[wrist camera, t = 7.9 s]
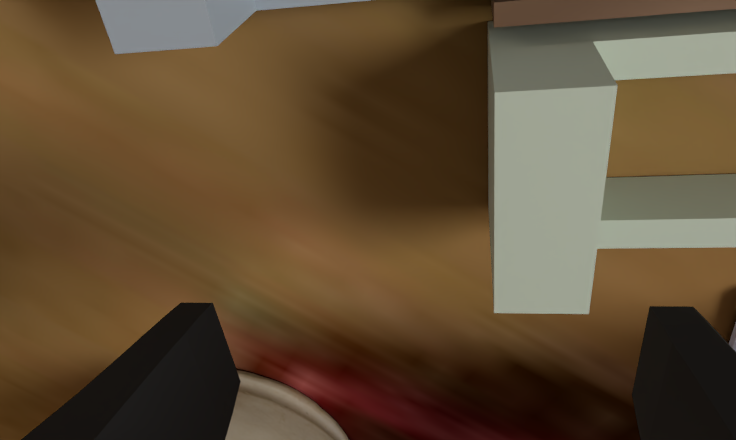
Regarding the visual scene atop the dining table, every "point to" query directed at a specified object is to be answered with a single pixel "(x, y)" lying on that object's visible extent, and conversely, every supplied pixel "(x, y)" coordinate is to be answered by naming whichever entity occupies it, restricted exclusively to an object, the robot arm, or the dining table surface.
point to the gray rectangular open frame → (182, 21)
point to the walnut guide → (593, 9)
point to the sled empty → (590, 153)
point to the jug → (278, 413)
